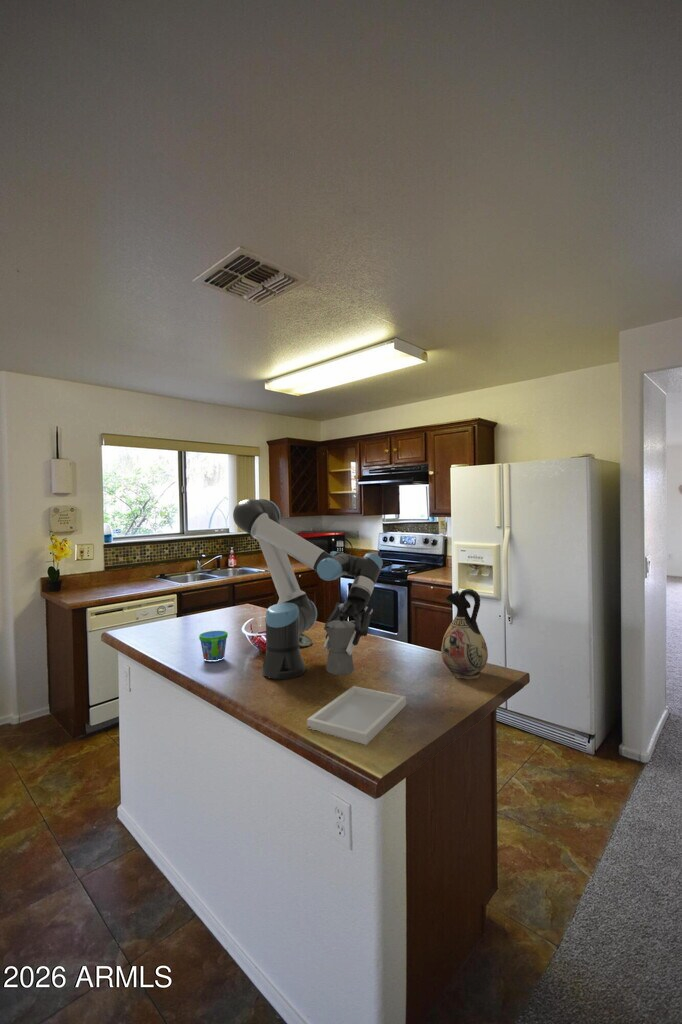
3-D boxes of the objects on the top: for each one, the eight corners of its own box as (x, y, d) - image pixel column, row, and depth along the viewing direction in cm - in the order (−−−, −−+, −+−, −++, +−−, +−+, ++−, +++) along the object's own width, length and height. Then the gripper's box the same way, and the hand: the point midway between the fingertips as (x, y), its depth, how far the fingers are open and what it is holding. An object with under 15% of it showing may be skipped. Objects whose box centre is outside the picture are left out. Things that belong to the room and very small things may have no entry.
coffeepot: (331, 679, 141) (333, 621, 140) (314, 669, 148) (316, 614, 148) (370, 669, 150) (371, 615, 149) (352, 660, 157) (354, 608, 157)
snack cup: (201, 655, 183) (200, 629, 183) (228, 652, 185) (228, 627, 185) (198, 668, 168) (197, 640, 168) (227, 665, 170) (227, 638, 170)
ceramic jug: (432, 676, 155) (431, 588, 155) (455, 664, 167) (453, 582, 167) (479, 688, 144) (478, 594, 144) (500, 675, 155) (499, 587, 155)
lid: (299, 640, 202) (298, 628, 202) (316, 643, 196) (316, 631, 196) (283, 646, 193) (282, 634, 193) (301, 650, 187) (301, 637, 187)
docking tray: (307, 728, 120) (306, 719, 120) (353, 693, 142) (353, 685, 142) (366, 744, 111) (365, 734, 111) (406, 705, 133) (405, 696, 133)
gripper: (390, 601, 157) (369, 662, 143) (339, 595, 167) (314, 651, 153) (384, 588, 152) (361, 650, 138) (331, 583, 162) (305, 640, 149)
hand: (337, 650), depth 146 cm, fingers closed on coffeepot, 8 cm apart
